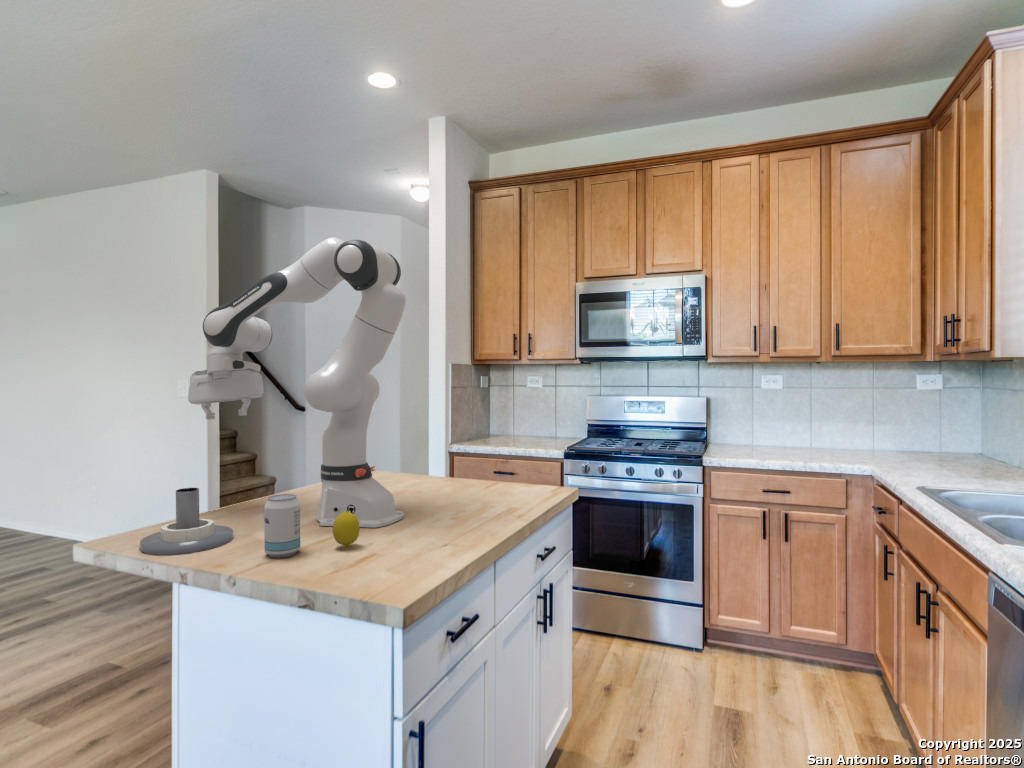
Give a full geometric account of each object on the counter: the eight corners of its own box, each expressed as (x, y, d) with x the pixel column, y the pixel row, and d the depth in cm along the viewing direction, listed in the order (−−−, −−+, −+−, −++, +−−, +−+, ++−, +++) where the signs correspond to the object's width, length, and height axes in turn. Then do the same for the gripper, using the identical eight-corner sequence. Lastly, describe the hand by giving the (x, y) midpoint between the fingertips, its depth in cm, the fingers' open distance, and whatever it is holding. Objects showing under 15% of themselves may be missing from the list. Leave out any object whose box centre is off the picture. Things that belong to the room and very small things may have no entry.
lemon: (352, 552, 119) (351, 514, 118) (328, 550, 120) (327, 513, 120) (364, 544, 124) (363, 508, 124) (341, 543, 125) (340, 507, 125)
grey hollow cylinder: (175, 534, 127) (174, 489, 127) (198, 531, 129) (197, 486, 129) (177, 539, 123) (176, 492, 123) (200, 535, 126) (200, 490, 125)
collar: (250, 535, 131) (250, 518, 131) (183, 558, 114) (183, 539, 114) (192, 528, 137) (192, 512, 137) (119, 550, 120) (119, 531, 120)
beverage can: (264, 551, 119) (264, 495, 119) (299, 547, 122) (299, 492, 122) (264, 561, 113) (263, 501, 113) (301, 556, 116) (300, 498, 115)
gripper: (182, 370, 153) (182, 420, 151) (253, 361, 151) (254, 412, 149) (197, 373, 159) (198, 422, 157) (266, 365, 157) (267, 414, 155)
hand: (226, 417), depth 153 cm, fingers open, 8 cm apart
